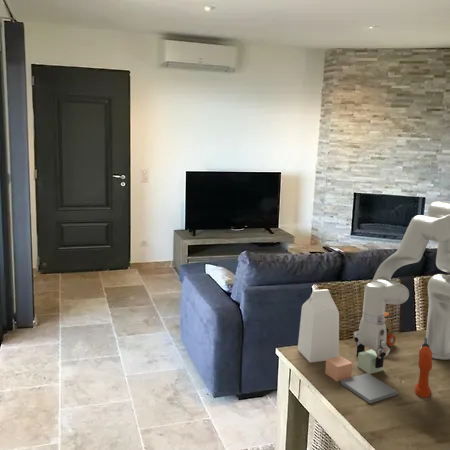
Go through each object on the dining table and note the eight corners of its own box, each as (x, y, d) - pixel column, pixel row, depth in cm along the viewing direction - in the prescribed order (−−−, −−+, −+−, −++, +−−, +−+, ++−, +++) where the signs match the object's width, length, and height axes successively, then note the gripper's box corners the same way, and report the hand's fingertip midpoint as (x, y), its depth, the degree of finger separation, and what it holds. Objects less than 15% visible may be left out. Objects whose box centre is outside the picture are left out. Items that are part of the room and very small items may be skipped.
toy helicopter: (397, 344, 203) (399, 312, 200) (362, 356, 192) (364, 323, 189) (381, 337, 210) (383, 306, 207) (346, 348, 199) (348, 316, 196)
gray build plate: (367, 376, 177) (367, 372, 177) (397, 394, 165) (397, 391, 164) (340, 383, 171) (341, 380, 171) (369, 403, 159) (369, 400, 159)
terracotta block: (339, 370, 181) (340, 355, 180) (351, 377, 176) (352, 363, 175) (325, 373, 179) (326, 359, 177) (336, 381, 173) (337, 366, 172)
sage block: (370, 363, 187) (371, 349, 186) (383, 370, 181) (384, 356, 180) (357, 366, 184) (358, 352, 183) (369, 374, 178) (370, 359, 177)
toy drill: (430, 369, 179) (433, 332, 175) (430, 401, 163) (434, 361, 158) (415, 366, 181) (419, 330, 176) (414, 398, 164) (418, 358, 160)
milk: (324, 346, 201) (328, 284, 196) (338, 358, 190) (342, 293, 185) (297, 349, 198) (300, 286, 193) (310, 362, 187) (313, 296, 182)
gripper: (399, 324, 173) (394, 369, 176) (364, 308, 188) (360, 350, 191) (383, 327, 169) (378, 374, 173) (348, 310, 185) (345, 353, 188)
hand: (369, 361), depth 182 cm, fingers open, 9 cm apart
